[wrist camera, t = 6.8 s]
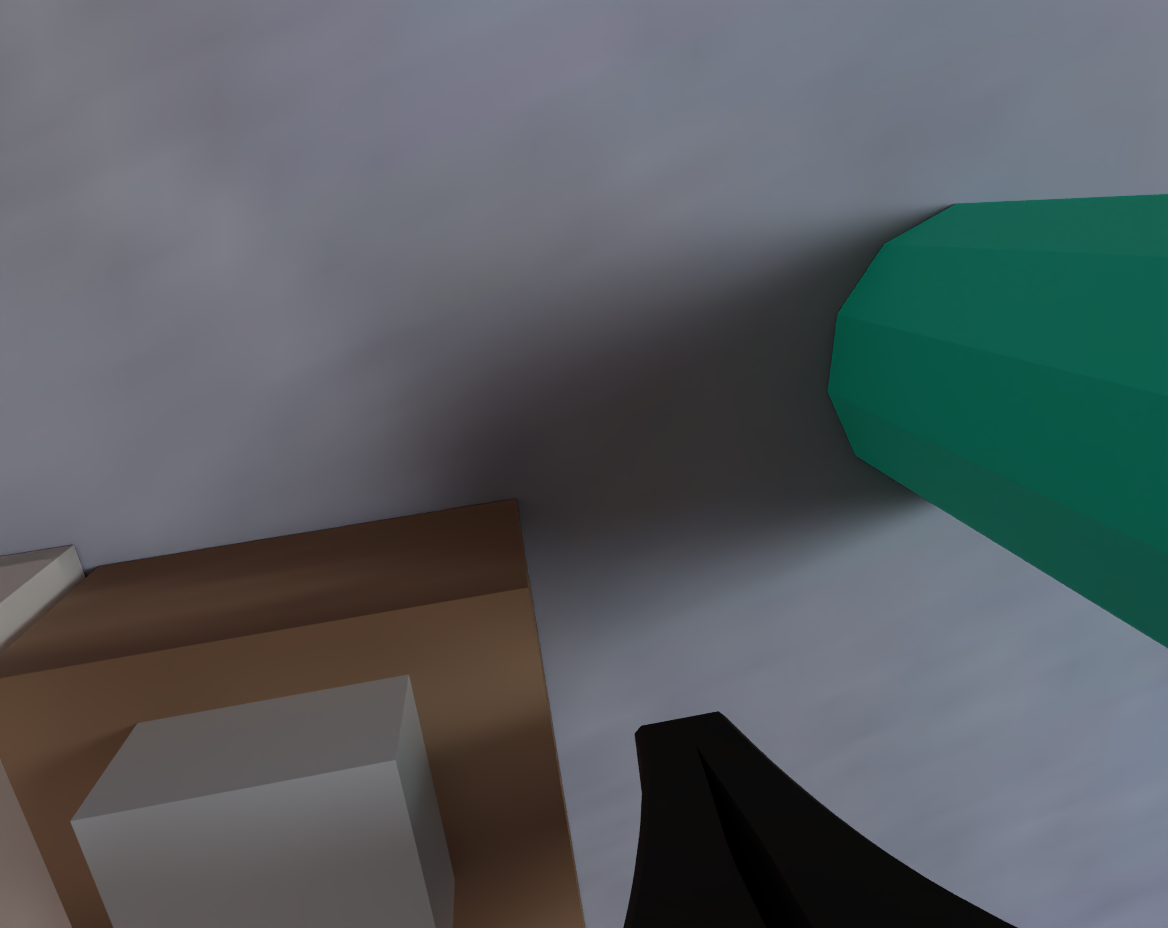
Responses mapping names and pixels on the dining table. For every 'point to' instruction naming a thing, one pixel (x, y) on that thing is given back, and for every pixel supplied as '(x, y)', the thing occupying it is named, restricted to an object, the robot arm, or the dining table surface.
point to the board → (313, 685)
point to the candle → (1025, 384)
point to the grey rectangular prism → (273, 817)
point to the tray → (3, 838)
